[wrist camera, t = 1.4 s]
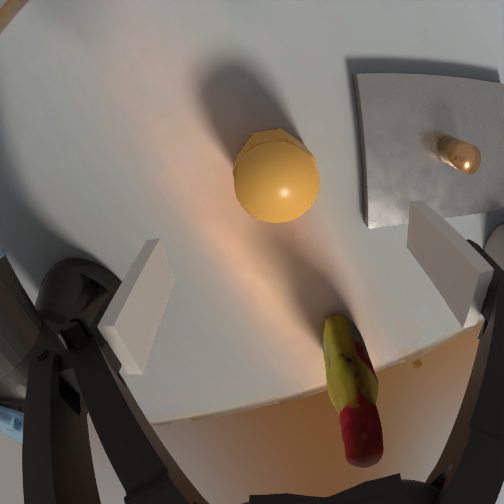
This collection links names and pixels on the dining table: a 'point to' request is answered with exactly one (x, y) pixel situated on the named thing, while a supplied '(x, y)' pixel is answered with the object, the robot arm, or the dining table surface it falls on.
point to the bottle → (353, 391)
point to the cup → (496, 246)
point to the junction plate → (429, 145)
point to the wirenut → (275, 176)
